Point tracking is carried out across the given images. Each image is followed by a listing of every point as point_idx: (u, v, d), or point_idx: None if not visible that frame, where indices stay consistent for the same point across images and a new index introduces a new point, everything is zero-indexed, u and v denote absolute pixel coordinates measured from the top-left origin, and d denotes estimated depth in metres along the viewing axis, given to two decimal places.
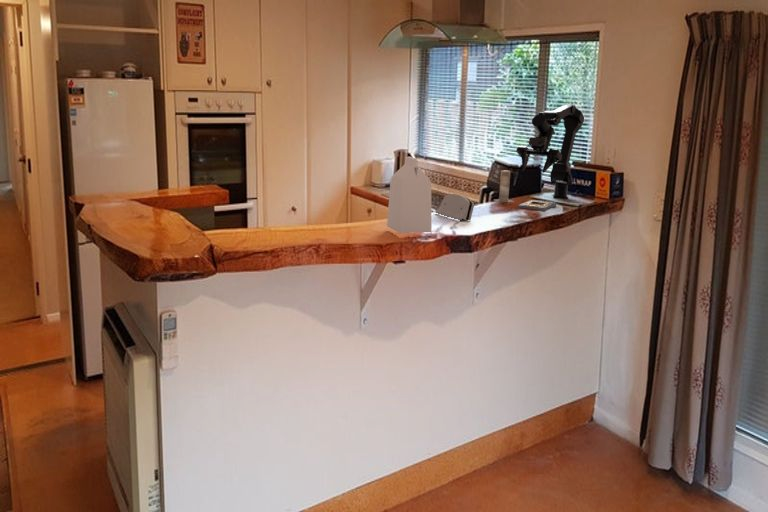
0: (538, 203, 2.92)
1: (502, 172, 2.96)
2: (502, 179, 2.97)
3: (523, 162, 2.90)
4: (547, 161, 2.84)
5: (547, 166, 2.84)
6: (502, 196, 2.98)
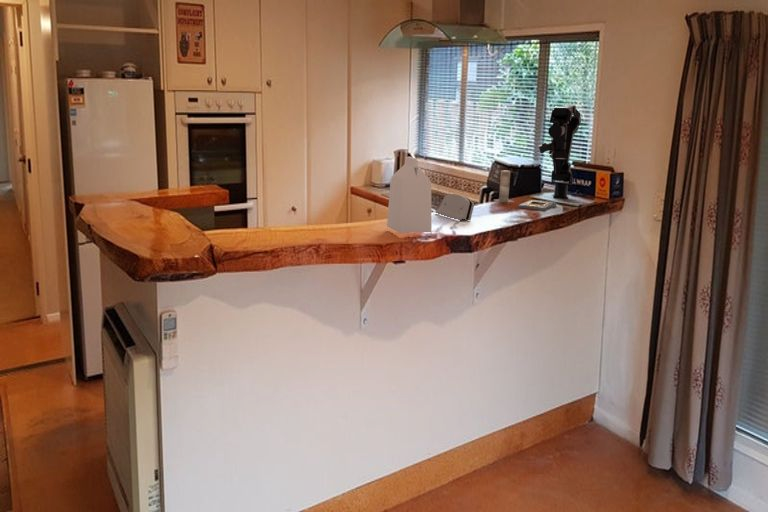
0: (538, 203, 2.92)
1: (502, 172, 2.96)
2: (502, 179, 2.97)
3: (553, 164, 3.03)
4: (555, 163, 2.93)
5: (558, 167, 2.93)
6: (502, 196, 2.98)
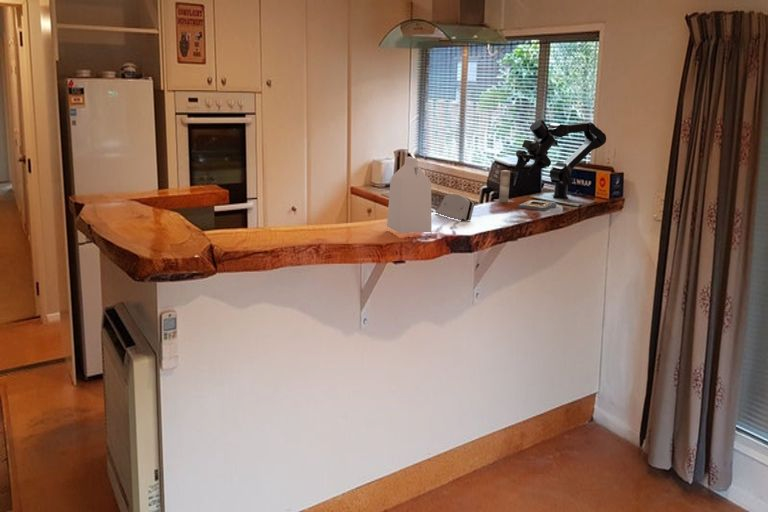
0: (538, 203, 2.92)
1: (502, 172, 2.96)
2: (502, 179, 2.97)
3: (517, 164, 3.05)
4: (534, 164, 2.96)
5: (533, 169, 2.97)
6: (502, 196, 2.98)
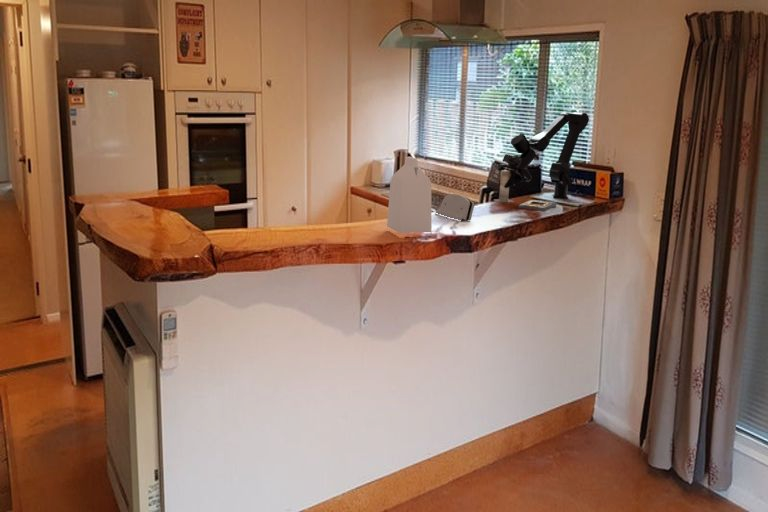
0: (538, 203, 2.92)
1: (502, 172, 2.96)
2: (502, 179, 2.97)
3: None
4: (511, 178, 2.96)
5: (510, 183, 2.96)
6: (502, 196, 2.98)
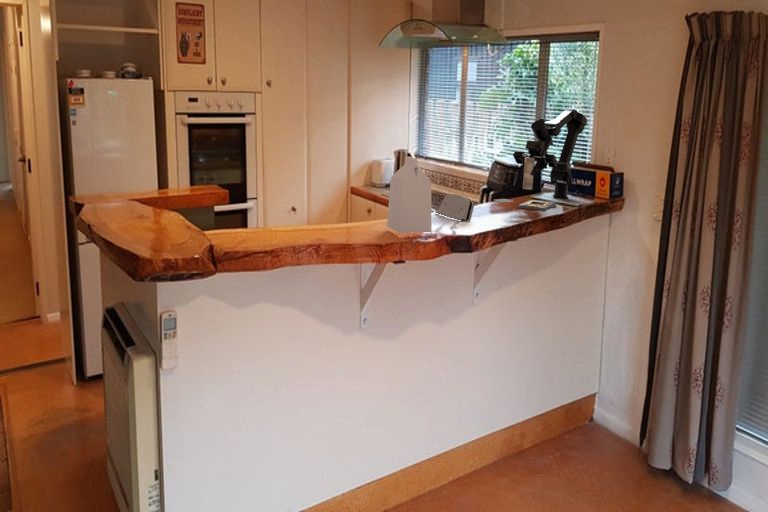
0: (538, 203, 2.92)
1: (528, 159, 2.85)
2: (528, 166, 2.86)
3: (523, 166, 2.89)
4: (537, 165, 2.86)
5: (536, 170, 2.86)
6: (528, 184, 2.87)
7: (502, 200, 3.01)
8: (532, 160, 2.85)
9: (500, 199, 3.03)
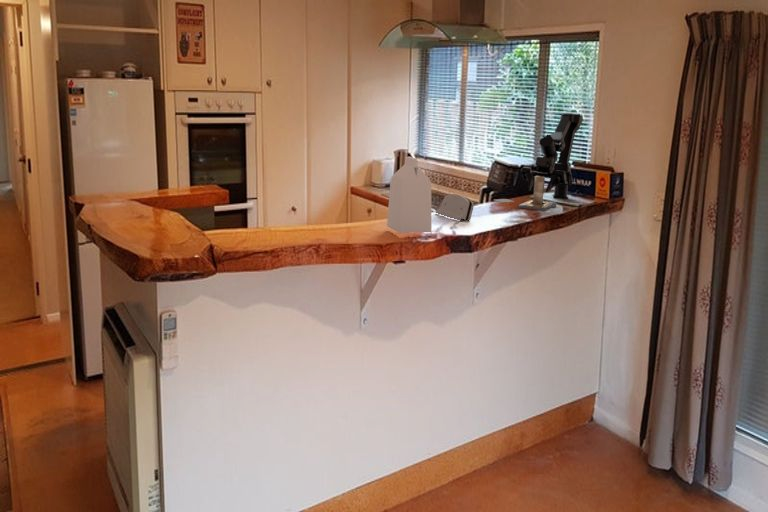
0: None
1: (538, 178, 2.84)
2: (539, 185, 2.85)
3: (529, 182, 2.89)
4: (551, 181, 2.85)
5: (550, 186, 2.85)
6: (539, 203, 2.87)
7: (502, 200, 3.01)
8: (543, 179, 2.84)
9: (500, 199, 3.03)
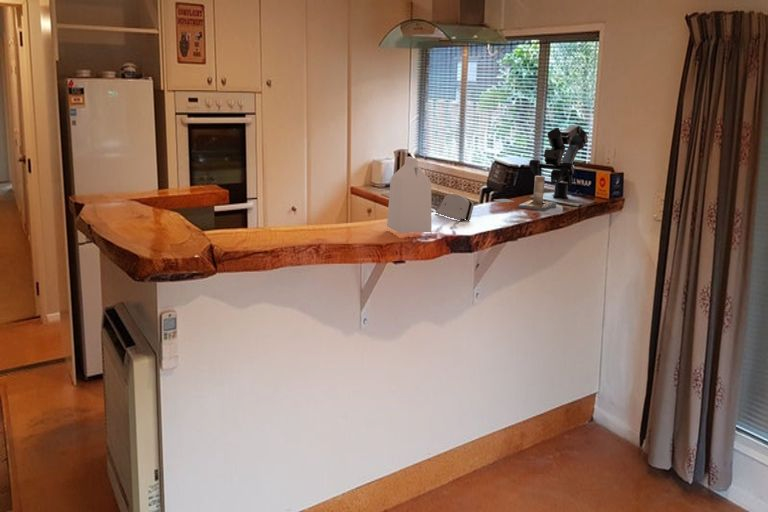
0: None
1: (538, 178, 2.84)
2: (539, 185, 2.85)
3: (536, 174, 2.97)
4: (561, 173, 2.92)
5: (560, 178, 2.92)
6: (539, 203, 2.87)
7: (502, 200, 3.01)
8: (543, 179, 2.84)
9: (500, 199, 3.03)
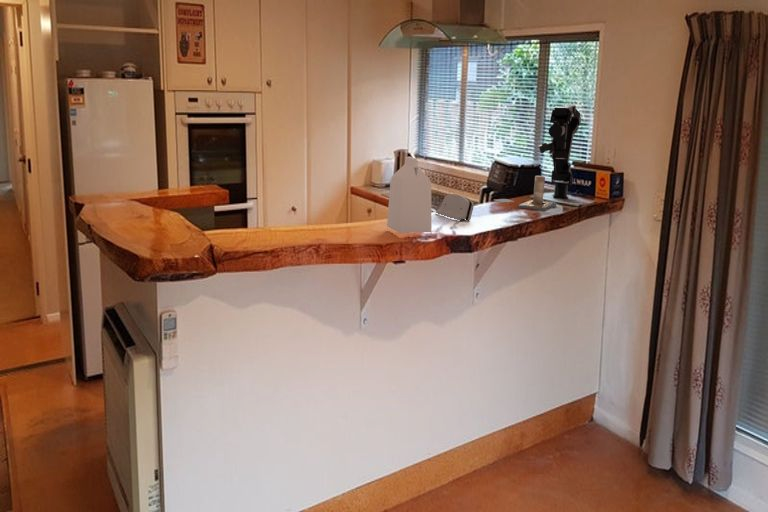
0: None
1: (539, 178, 2.84)
2: (539, 185, 2.85)
3: (553, 164, 3.03)
4: (555, 163, 2.93)
5: (558, 167, 2.93)
6: (539, 203, 2.87)
7: (502, 200, 3.01)
8: (543, 179, 2.84)
9: (500, 199, 3.03)
